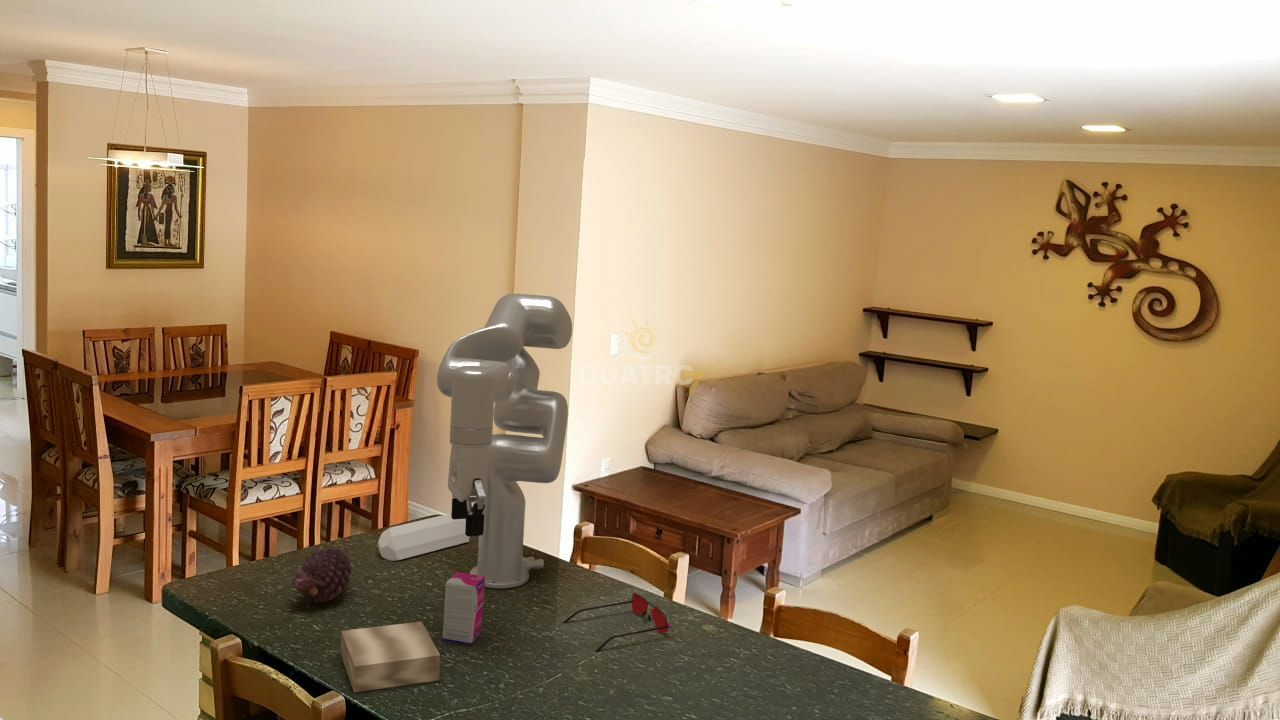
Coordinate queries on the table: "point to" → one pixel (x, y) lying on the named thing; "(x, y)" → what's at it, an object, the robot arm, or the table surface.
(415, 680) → the birch plinth
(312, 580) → the purple hedgehog toy
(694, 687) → the table surface
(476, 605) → the supplement box
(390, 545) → the white chamfered bar
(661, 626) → the glasses
